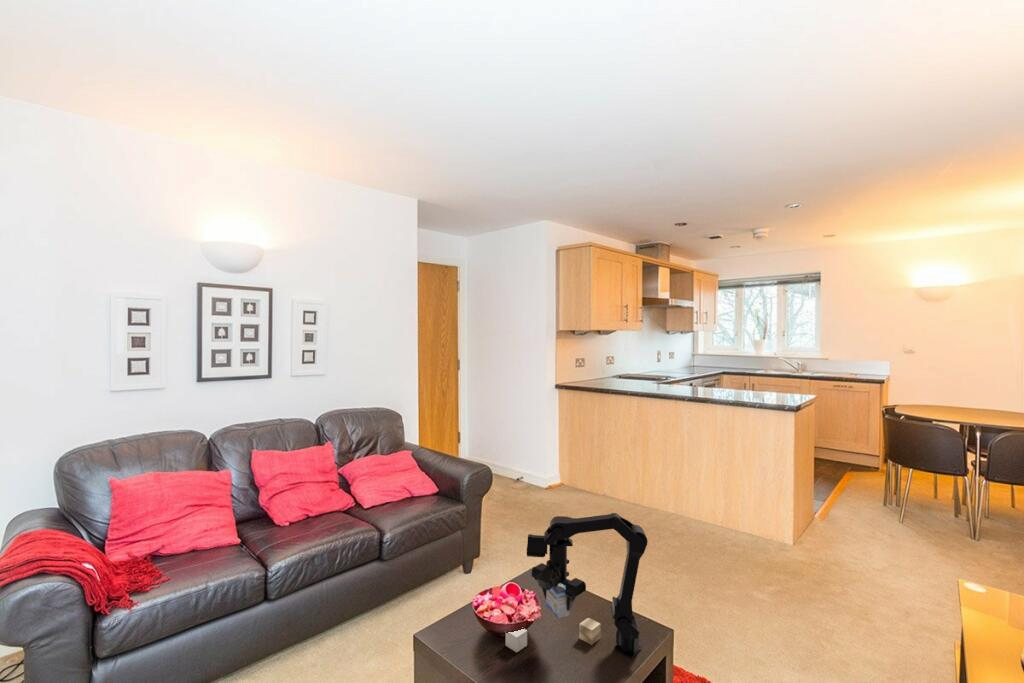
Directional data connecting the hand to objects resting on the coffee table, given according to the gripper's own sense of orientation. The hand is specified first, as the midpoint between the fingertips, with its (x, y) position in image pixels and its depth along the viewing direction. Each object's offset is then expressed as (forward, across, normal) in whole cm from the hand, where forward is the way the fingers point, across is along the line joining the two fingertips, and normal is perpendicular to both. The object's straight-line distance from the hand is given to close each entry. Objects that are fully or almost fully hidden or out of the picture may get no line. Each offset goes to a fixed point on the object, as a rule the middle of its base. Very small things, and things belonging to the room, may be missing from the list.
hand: (557, 604), depth 156 cm
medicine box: (+2, 0, 0) cm, 2 cm away
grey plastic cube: (+13, -9, -10) cm, 19 cm away
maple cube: (+13, +6, +10) cm, 18 cm away
